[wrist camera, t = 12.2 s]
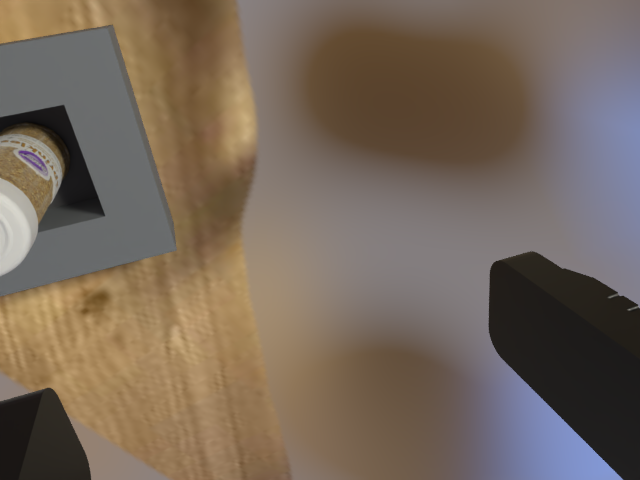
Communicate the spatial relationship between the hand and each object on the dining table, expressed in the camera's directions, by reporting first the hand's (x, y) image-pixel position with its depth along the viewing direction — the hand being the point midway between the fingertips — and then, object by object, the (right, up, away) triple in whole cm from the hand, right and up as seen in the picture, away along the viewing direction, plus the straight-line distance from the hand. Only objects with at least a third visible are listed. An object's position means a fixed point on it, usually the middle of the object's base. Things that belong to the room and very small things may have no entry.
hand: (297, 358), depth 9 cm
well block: (-18, +8, +25) cm, 32 cm away
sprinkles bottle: (-18, +8, +24) cm, 31 cm away
